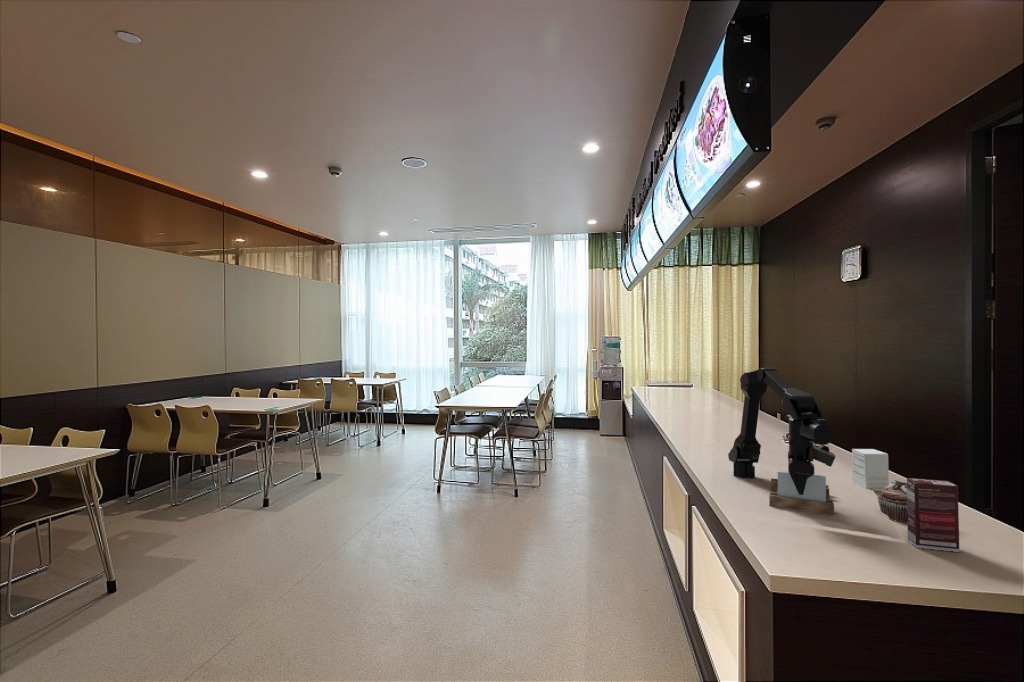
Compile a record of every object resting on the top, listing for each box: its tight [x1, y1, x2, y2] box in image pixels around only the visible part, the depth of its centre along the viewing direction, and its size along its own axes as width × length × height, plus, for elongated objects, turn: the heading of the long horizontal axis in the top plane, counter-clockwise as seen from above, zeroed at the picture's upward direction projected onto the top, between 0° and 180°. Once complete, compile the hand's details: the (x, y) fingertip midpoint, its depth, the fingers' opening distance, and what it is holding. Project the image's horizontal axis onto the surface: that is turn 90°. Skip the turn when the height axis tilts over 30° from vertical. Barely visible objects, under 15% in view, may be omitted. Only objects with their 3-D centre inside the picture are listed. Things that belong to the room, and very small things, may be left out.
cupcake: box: [877, 479, 907, 523], centre depth 134 cm, size 10×10×10 cm
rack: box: [768, 477, 835, 516], centre depth 146 cm, size 16×20×4 cm
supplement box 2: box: [906, 477, 960, 553], centre depth 115 cm, size 9×5×16 cm, turn 71°
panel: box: [777, 470, 827, 502], centre depth 139 cm, size 12×2×10 cm, turn 60°
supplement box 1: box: [851, 448, 890, 492], centre depth 159 cm, size 7×7×13 cm
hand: (800, 490), depth 139 cm, fingers open, 9 cm apart
